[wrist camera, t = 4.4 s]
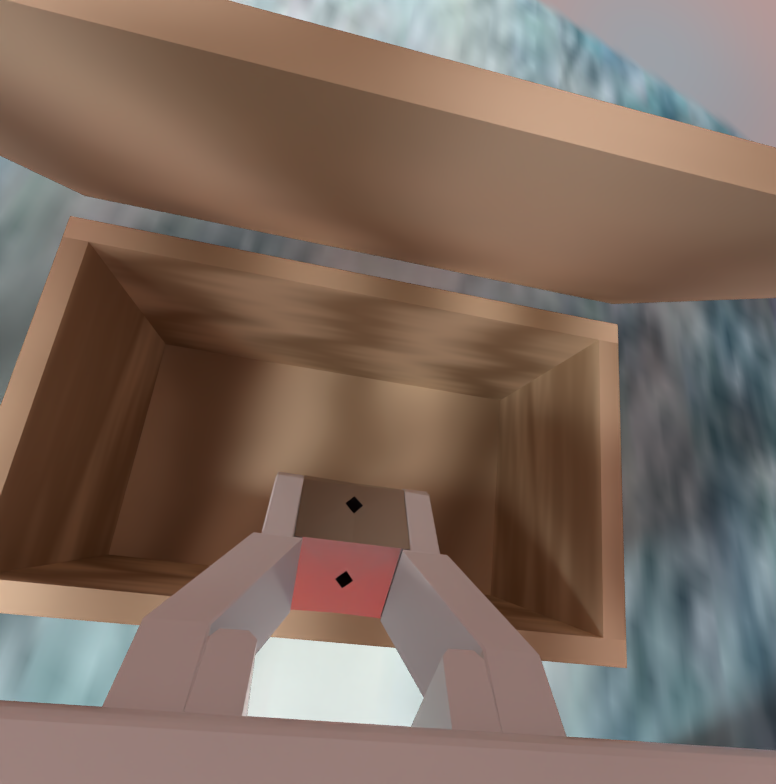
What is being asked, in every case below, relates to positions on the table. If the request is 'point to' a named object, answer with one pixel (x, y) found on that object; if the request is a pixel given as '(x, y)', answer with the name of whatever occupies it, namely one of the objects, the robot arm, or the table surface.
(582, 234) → the lid flap
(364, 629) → the open wooden box
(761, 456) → the table surface
